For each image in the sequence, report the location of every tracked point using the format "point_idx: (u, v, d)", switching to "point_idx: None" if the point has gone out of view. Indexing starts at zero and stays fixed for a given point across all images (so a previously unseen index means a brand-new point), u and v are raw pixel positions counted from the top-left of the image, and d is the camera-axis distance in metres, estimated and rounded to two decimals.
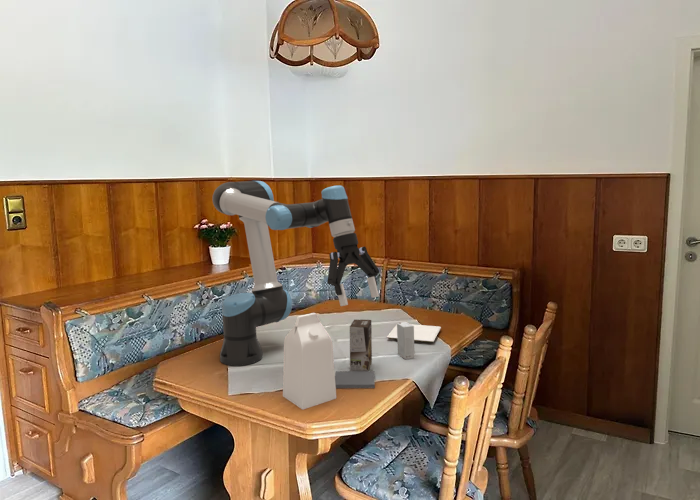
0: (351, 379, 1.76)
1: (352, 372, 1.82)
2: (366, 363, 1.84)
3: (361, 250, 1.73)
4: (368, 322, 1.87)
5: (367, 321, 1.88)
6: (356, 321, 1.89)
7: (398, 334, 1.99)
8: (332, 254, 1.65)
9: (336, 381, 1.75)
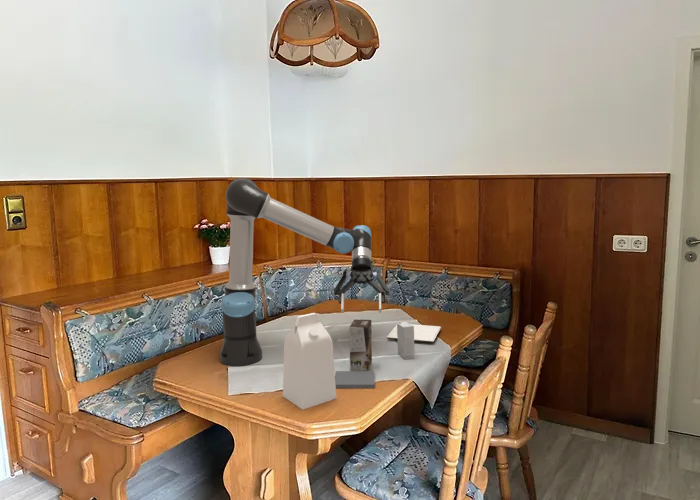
0: (351, 379, 1.76)
1: (352, 372, 1.82)
2: (366, 363, 1.84)
3: None
4: (368, 322, 1.87)
5: (367, 321, 1.88)
6: (356, 321, 1.89)
7: (398, 334, 1.99)
8: None
9: (336, 381, 1.75)
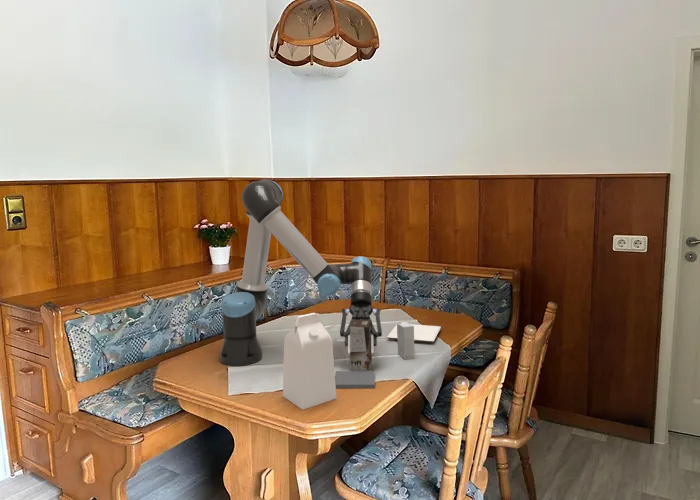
0: (351, 379, 1.76)
1: (352, 372, 1.82)
2: (366, 363, 1.84)
3: None
4: (368, 322, 1.87)
5: (367, 321, 1.88)
6: (356, 321, 1.88)
7: (398, 334, 1.99)
8: (379, 312, 1.94)
9: (336, 381, 1.75)
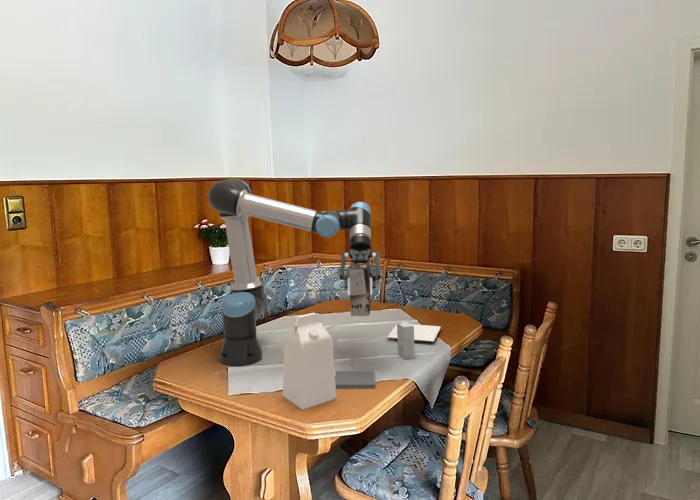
0: (351, 379, 1.76)
1: (352, 372, 1.82)
2: (367, 306, 1.80)
3: None
4: (367, 265, 1.84)
5: (365, 265, 1.85)
6: (354, 265, 1.85)
7: (398, 334, 1.99)
8: (379, 256, 1.90)
9: (336, 381, 1.75)
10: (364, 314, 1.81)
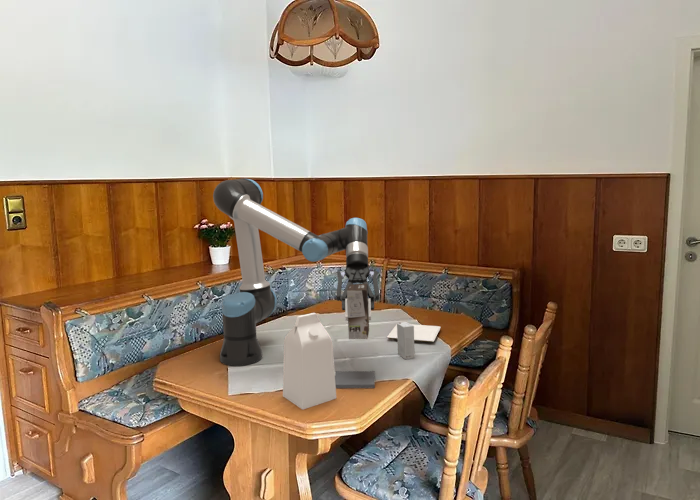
0: (351, 379, 1.76)
1: (352, 372, 1.82)
2: (366, 329, 1.72)
3: None
4: (365, 285, 1.76)
5: (363, 285, 1.77)
6: (352, 285, 1.77)
7: (398, 334, 1.99)
8: (377, 275, 1.82)
9: (336, 381, 1.75)
10: (363, 337, 1.73)
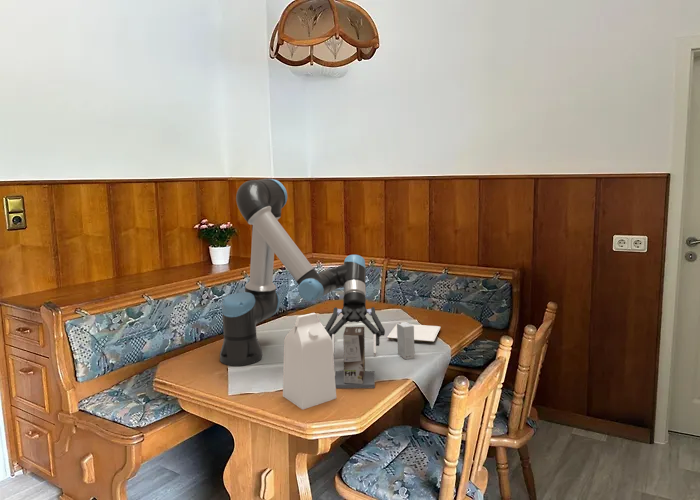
0: None
1: None
2: (361, 373, 1.72)
3: None
4: (362, 329, 1.75)
5: (360, 328, 1.76)
6: (348, 329, 1.76)
7: (398, 334, 1.99)
8: None
9: (336, 381, 1.75)
10: (358, 381, 1.72)
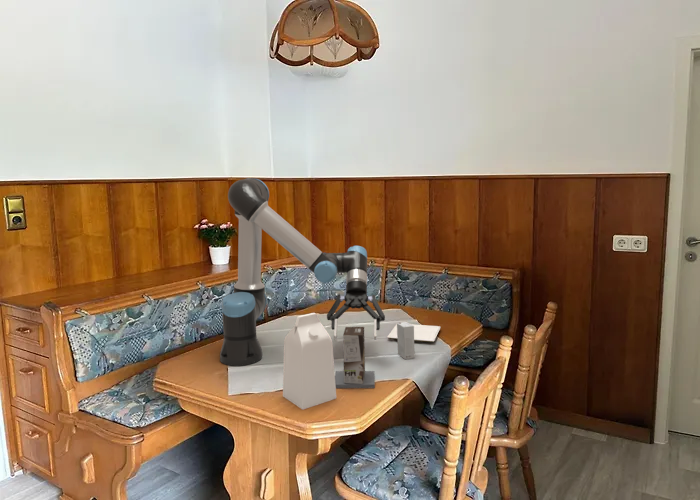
0: None
1: None
2: (361, 373, 1.72)
3: None
4: (362, 329, 1.75)
5: (360, 328, 1.76)
6: (348, 329, 1.76)
7: (398, 334, 1.99)
8: None
9: (336, 381, 1.75)
10: (358, 382, 1.72)
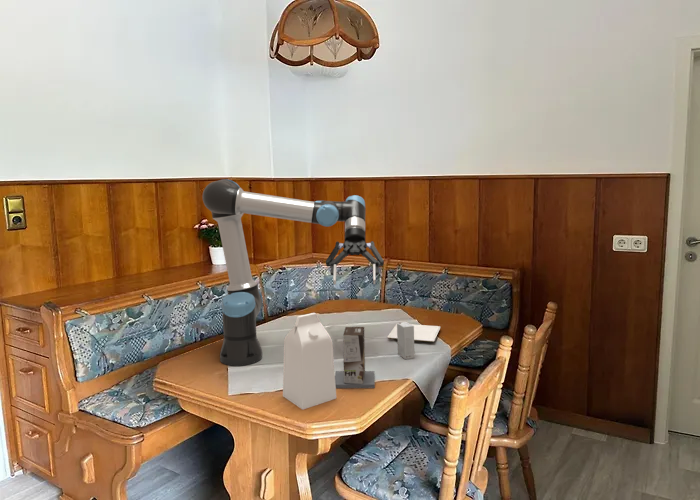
0: None
1: None
2: (361, 373, 1.72)
3: None
4: (362, 329, 1.75)
5: (360, 328, 1.76)
6: (348, 329, 1.76)
7: (398, 334, 1.99)
8: None
9: (336, 381, 1.75)
10: (358, 382, 1.72)
